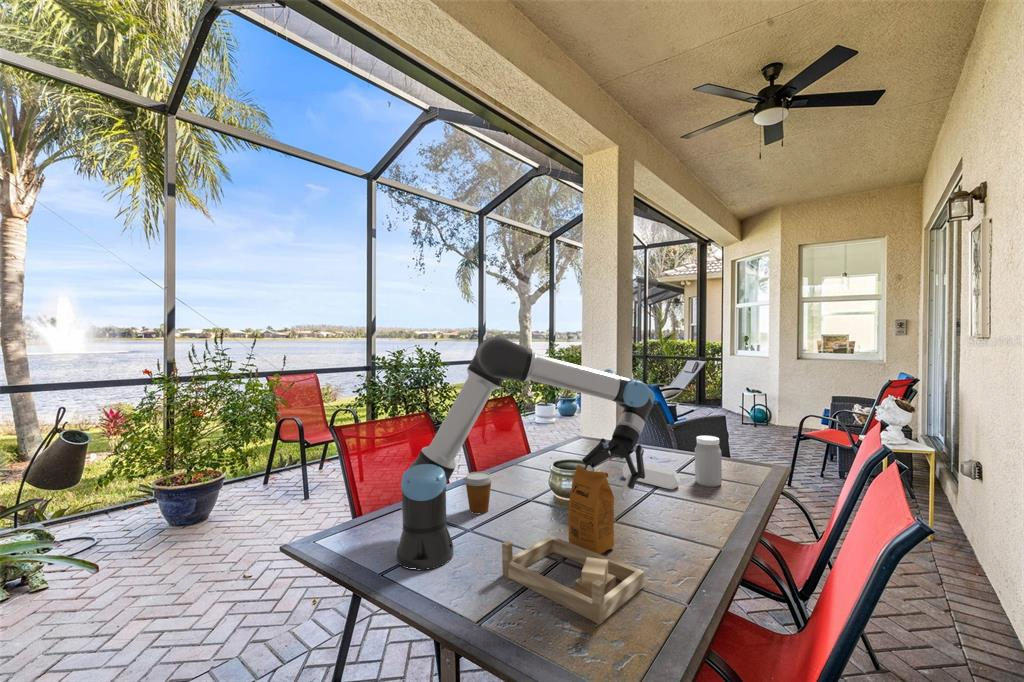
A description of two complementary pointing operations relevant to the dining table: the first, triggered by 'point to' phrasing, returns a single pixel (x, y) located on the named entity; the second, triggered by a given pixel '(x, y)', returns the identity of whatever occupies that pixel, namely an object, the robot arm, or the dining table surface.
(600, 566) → the offcut upper
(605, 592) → the offcut lower
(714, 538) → the dining table surface
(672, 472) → the white triangular prism
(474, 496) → the disposable coffee cup
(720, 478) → the jar
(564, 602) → the rack
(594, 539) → the coffee package
